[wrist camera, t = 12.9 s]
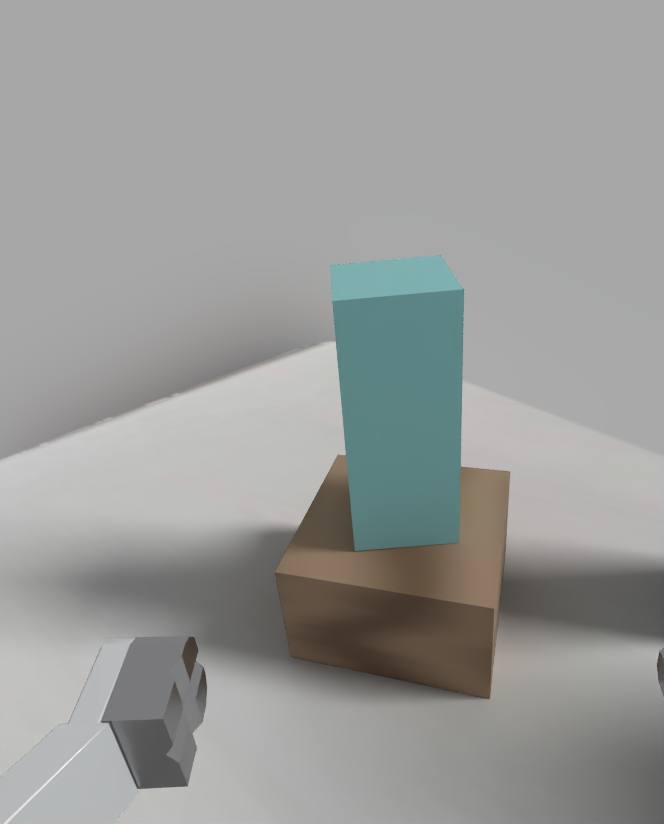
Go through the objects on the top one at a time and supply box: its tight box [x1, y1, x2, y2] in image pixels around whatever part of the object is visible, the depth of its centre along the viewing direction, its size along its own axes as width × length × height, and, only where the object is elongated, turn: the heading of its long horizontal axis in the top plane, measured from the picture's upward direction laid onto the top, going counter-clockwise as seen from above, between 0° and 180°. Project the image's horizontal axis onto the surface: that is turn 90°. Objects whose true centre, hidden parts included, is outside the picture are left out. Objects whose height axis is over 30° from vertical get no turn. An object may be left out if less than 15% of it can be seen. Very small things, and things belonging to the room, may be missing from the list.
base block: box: [275, 455, 510, 699], centre depth 26 cm, size 8×8×5 cm
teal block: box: [330, 255, 464, 551], centre depth 23 cm, size 4×4×10 cm
